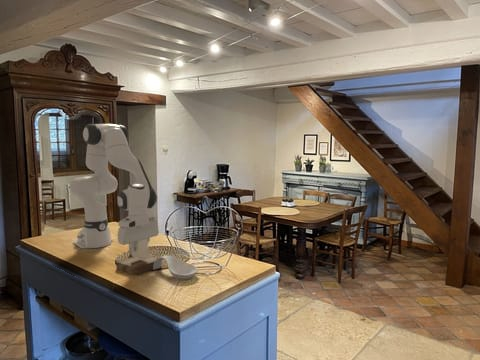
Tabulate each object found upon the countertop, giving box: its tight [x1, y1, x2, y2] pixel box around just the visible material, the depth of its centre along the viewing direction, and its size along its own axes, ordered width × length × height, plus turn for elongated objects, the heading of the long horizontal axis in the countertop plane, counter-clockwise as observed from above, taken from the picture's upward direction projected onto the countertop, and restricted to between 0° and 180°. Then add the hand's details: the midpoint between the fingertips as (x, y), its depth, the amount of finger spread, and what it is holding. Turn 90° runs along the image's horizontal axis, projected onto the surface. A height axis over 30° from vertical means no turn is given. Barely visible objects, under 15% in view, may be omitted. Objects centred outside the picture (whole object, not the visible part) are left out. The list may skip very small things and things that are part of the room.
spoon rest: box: [152, 255, 199, 281], centre depth 158 cm, size 24×12×7 cm, turn 54°
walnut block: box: [115, 255, 158, 277], centre depth 165 cm, size 14×14×4 cm
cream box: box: [131, 239, 149, 259], centre depth 164 cm, size 5×5×8 cm
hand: (139, 249), depth 164 cm, fingers closed on cream box, 5 cm apart
